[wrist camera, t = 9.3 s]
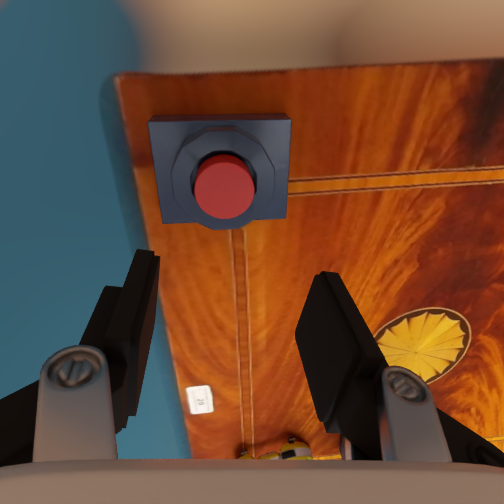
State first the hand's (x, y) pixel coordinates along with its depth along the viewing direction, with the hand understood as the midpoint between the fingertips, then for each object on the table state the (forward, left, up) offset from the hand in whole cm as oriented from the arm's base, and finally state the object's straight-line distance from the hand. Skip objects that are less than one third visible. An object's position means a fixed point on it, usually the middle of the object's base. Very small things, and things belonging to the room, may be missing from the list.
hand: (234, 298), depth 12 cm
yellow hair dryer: (+34, -17, -16) cm, 41 cm away
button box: (0, 0, -15) cm, 15 cm away
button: (0, 0, -12) cm, 12 cm away
